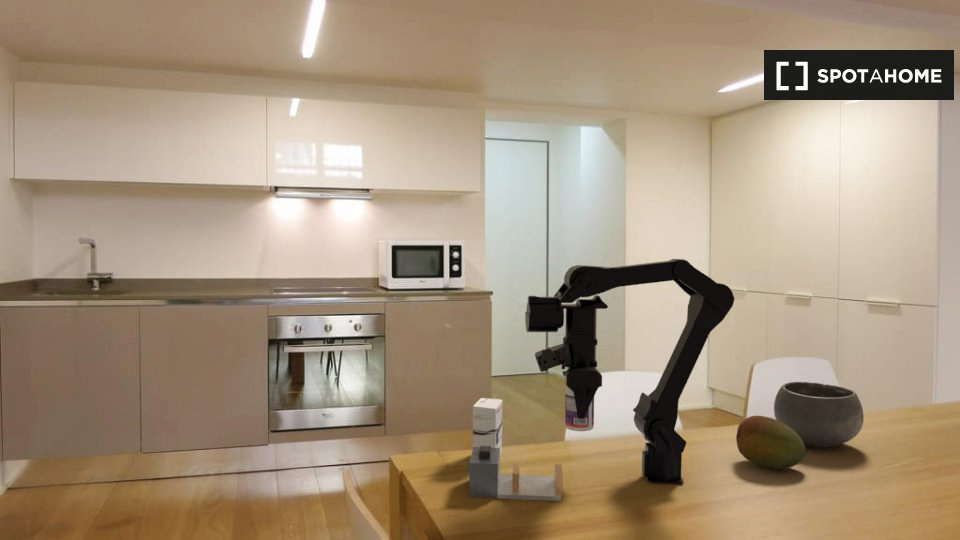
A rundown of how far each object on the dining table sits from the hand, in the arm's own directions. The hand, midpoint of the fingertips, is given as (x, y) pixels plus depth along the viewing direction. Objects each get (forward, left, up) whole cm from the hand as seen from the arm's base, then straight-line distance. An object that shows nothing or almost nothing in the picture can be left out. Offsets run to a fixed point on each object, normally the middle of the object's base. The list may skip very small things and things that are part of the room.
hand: (579, 414), depth 124 cm
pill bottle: (0, 0, -3) cm, 3 cm away
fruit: (-39, -11, -13) cm, 43 cm away
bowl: (-55, -27, -13) cm, 63 cm away
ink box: (+18, -10, -13) cm, 24 cm away
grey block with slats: (+12, +6, -12) cm, 18 cm away
